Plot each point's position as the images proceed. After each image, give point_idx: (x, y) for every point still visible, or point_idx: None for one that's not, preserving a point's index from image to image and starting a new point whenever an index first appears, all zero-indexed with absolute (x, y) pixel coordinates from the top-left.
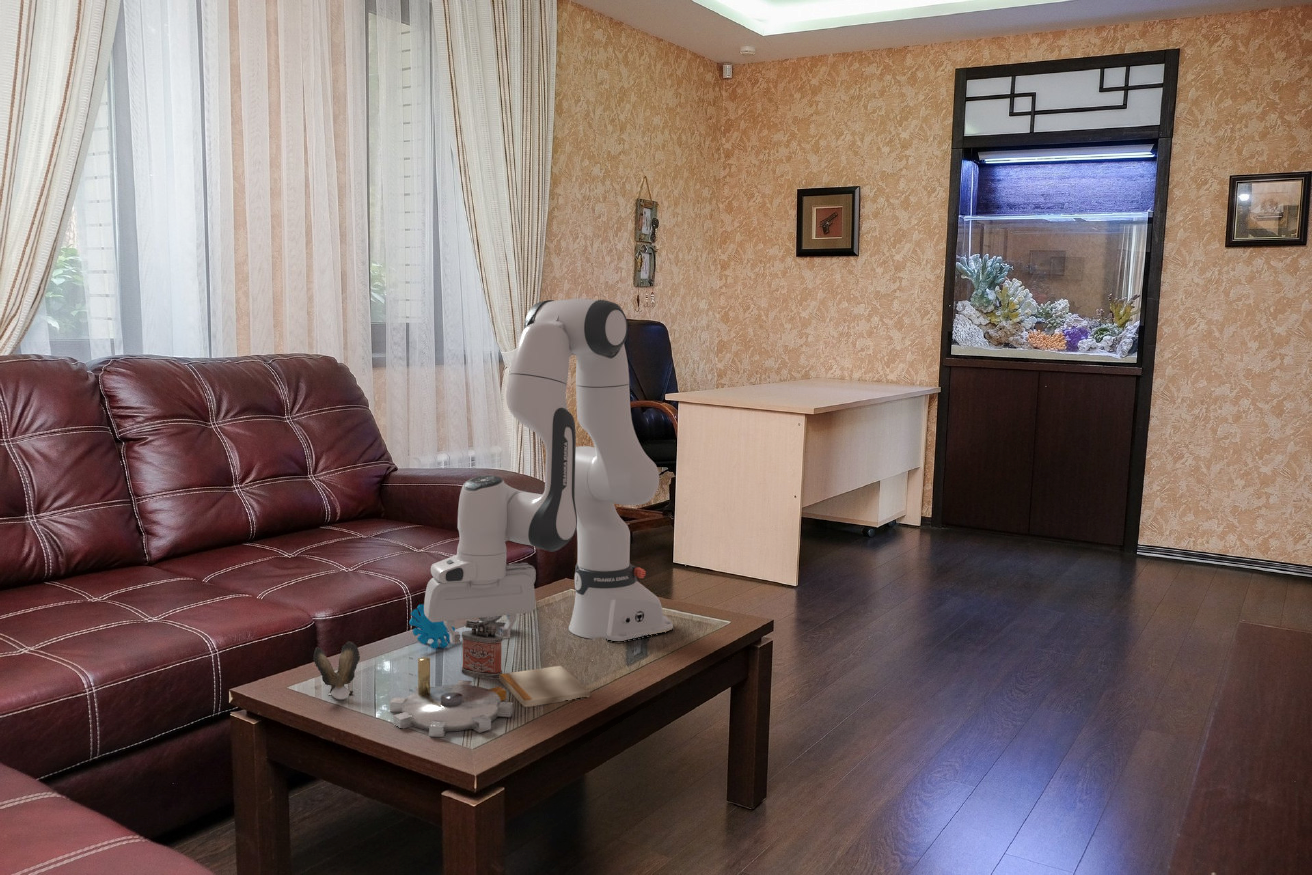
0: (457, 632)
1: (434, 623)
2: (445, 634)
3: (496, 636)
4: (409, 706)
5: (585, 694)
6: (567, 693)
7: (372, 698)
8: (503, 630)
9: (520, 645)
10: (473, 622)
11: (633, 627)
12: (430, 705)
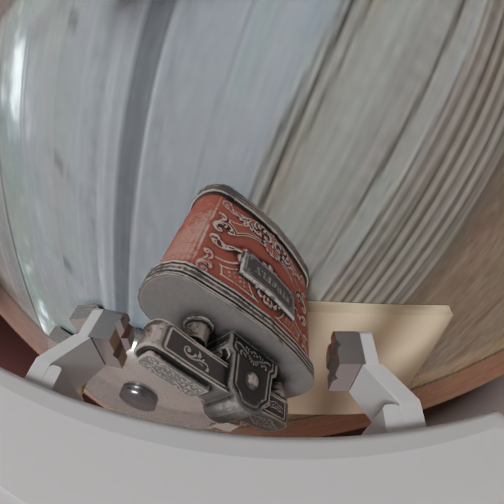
0: (110, 350)
1: None
2: None
3: (286, 383)
4: None
5: None
6: (352, 411)
7: (18, 269)
8: (331, 387)
9: (487, 54)
10: (177, 385)
11: None
12: (108, 385)
